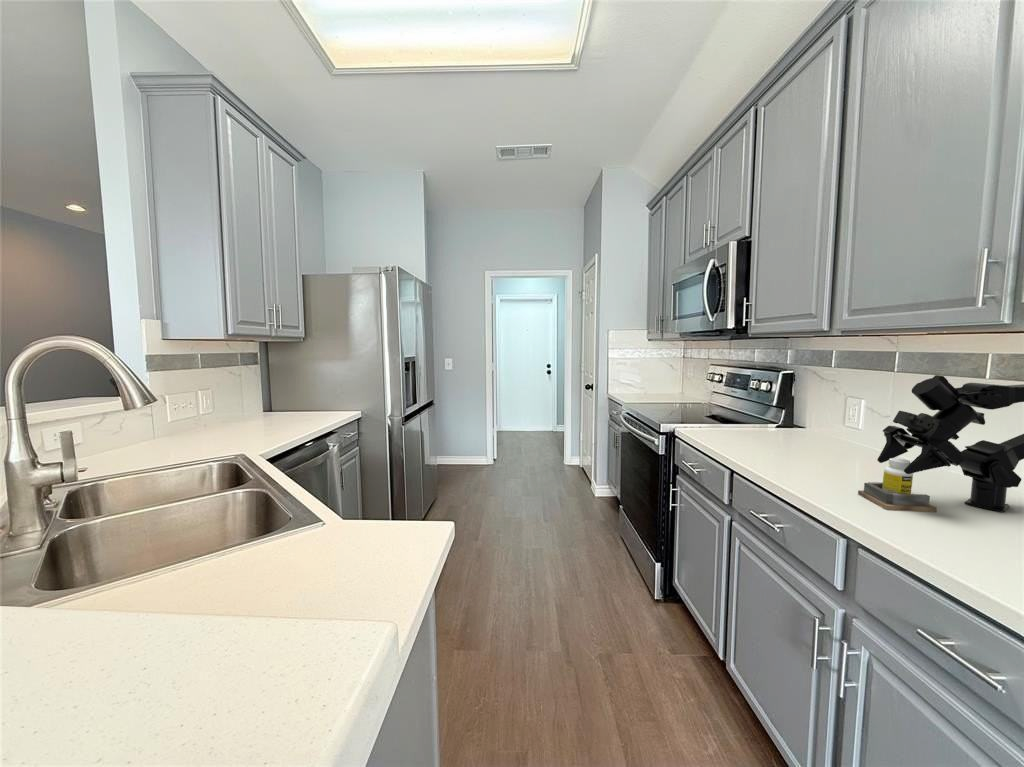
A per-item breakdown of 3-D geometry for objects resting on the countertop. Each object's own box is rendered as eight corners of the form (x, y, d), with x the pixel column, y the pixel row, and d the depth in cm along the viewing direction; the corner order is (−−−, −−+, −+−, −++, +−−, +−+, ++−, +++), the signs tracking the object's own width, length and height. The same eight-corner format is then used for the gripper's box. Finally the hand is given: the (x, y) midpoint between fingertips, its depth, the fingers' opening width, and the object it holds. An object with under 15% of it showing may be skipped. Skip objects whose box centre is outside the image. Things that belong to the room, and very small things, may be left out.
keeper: (902, 495, 113) (904, 482, 113) (936, 511, 103) (937, 497, 102) (858, 494, 115) (858, 481, 114) (886, 509, 104) (887, 495, 104)
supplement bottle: (902, 503, 105) (906, 464, 104) (876, 496, 110) (879, 458, 109) (915, 500, 107) (919, 461, 106) (889, 493, 112) (892, 456, 111)
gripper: (893, 395, 115) (844, 435, 117) (954, 406, 96) (894, 454, 99) (924, 424, 114) (875, 464, 117) (991, 441, 96) (930, 488, 99)
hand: (891, 466), depth 108 cm, fingers open, 9 cm apart
